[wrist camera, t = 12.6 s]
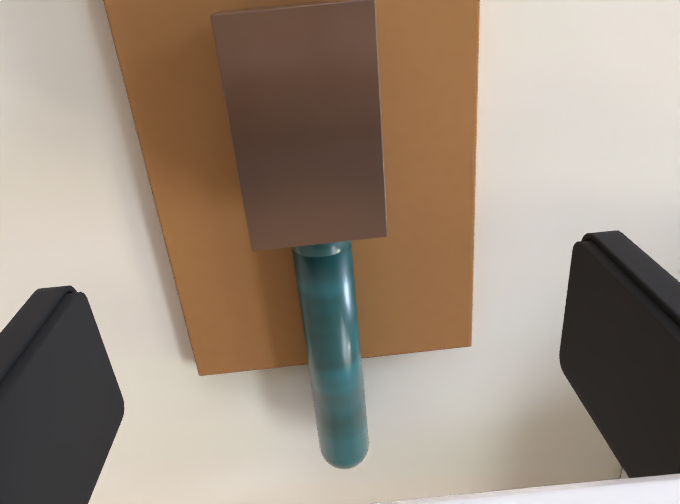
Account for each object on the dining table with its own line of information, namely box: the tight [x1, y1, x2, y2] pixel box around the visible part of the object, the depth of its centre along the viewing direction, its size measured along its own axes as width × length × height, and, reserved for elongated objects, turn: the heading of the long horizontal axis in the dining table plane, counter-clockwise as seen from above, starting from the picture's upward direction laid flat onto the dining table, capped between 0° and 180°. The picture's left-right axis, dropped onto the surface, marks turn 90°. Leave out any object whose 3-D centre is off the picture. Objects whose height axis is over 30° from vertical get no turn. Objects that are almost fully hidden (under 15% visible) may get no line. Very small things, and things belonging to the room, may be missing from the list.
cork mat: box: [103, 0, 480, 376], centre depth 20 cm, size 20×12×1 cm, turn 5°
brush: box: [210, 0, 388, 469], centre depth 20 cm, size 19×4×4 cm, turn 5°
